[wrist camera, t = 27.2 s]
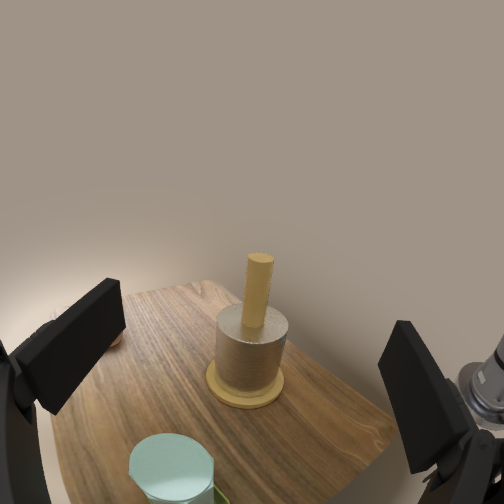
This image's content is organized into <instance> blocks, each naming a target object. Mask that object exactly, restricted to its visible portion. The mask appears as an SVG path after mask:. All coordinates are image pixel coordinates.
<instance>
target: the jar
mask: <svg viewBox="0 0 504 504" xmlns="http://www.w3.org/2000/svg"><path fill="white" fill-rule="evenodd" d="M128 474H129V475H130V477H131V478H132V479H133V481H134V482H135V483H136V484H137V486H138V487H139V488H140V489H141V491H142V492H143V493H144V494H145V496H146V497H147V498H148V499H149V500H150V501H151V502H152V503H153V504H214V459H213V458H212V457H211V456H210V455H209V453H208V452H207V451H206V450H205V448H204V447H203V446H201V445H200V444H199V443H198V442H196V441H194V440H193V439H191V438H188V437H186V436H183V435H179V434H171V433H164V434H157V435H153V436H150V437H148V438H146V439H144V440H142V441H141V442H140V443H138V444H137V445H136V446H135V447H134V449H133V451H132V453H131V455H130V459H129V472H128Z"/></svg>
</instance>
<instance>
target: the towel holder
mask: <svg viewBox="0 0 504 504" xmlns="http://www.w3.org/2000/svg"><path fill="white" fill-rule="evenodd" d="M273 264H274V258H273V257H272V256H271V255H268V254H265V253H251V254H249V255H248V260H247V269H246V279H245V288H244V298H243V303H237V304H233V305H230V306H227V307H226V308H224V309H222V310H221V311H220V313H219V314H218V316H217V326H216V350H215V359H214V360H213V361H212V362H211V363H210V365H209V366H208V369H207V372H206V382H207V386H208V388H209V390H210V392H211V393H212V394H213V395H214V396H215V397H216V398H217V399H218V400H220V401H221V402H223V403H225V404H227V405H229V406H232V407H236V408H242V409H254V408H259V407H263V406H266V405H268V404H270V403H272V402H273V401H274V400H275V399H276V398H277V397H278V396H279V395H280V393H281V391H282V388H283V385H284V376H283V372H282V370H281V369H280V367H279V366H280V362H281V358H282V353H283V349H284V345H285V340H286V336H287V331H288V322H287V319H286V318H285V317H284V315H283V314H281V313H280V312H279V311H277V310H275V309H273V308H271V307H269V306H267V304H268V297H269V291H270V284H271V277H272V271H273Z"/></svg>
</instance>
